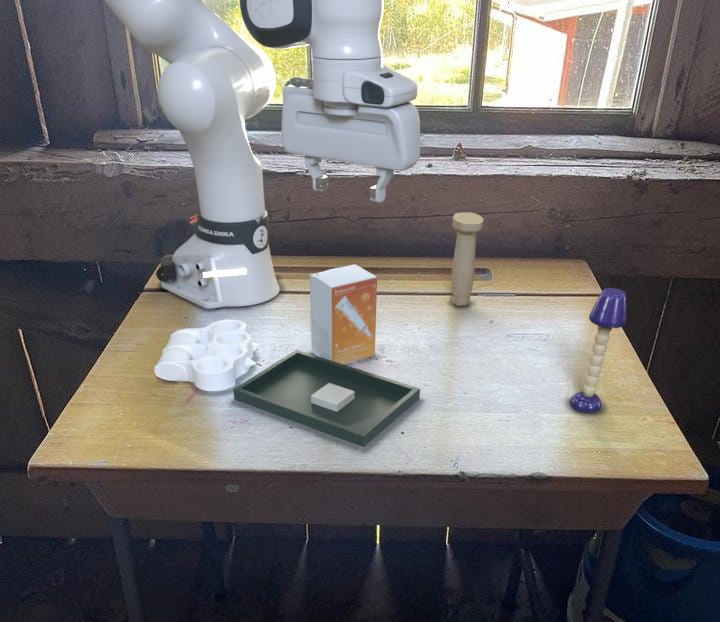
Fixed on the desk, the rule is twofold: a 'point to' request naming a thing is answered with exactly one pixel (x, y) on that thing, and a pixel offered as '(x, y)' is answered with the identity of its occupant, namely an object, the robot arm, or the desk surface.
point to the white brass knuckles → (208, 355)
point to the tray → (308, 375)
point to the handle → (464, 256)
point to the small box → (343, 313)
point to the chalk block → (332, 397)
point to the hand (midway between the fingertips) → (348, 195)
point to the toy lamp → (600, 345)
